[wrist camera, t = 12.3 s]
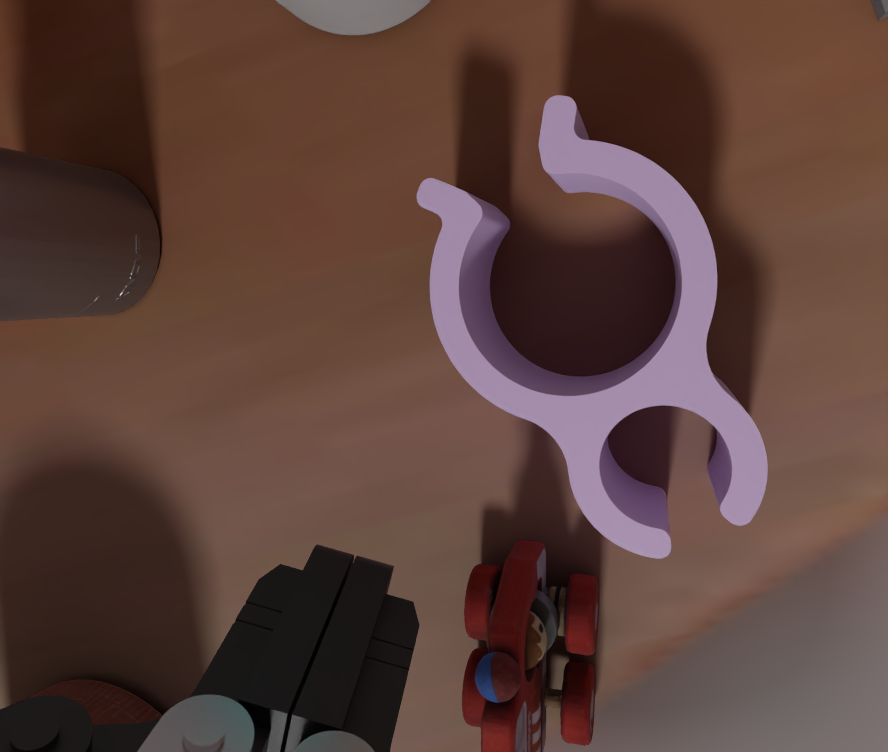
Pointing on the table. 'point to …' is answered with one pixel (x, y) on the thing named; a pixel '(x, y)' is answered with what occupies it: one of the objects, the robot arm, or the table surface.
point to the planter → (104, 701)
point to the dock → (881, 8)
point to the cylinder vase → (353, 14)
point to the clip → (613, 393)
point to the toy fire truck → (528, 652)
